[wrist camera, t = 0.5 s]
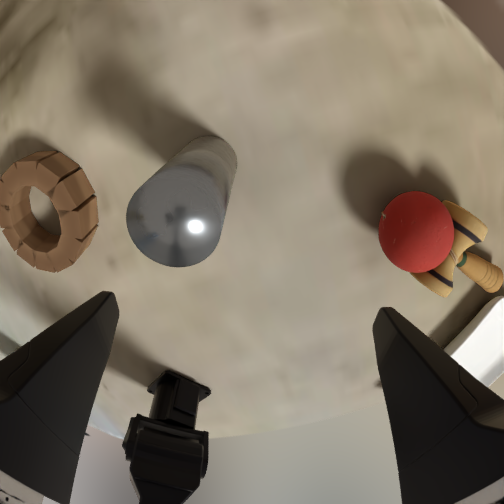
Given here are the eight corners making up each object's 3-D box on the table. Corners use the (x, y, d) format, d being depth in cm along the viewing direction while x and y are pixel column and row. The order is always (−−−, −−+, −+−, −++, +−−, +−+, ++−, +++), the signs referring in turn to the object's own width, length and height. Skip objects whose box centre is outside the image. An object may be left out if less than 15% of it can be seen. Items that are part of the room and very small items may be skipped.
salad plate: (533, 318, 30) (543, 331, 27) (452, 399, 40) (458, 413, 37) (489, 277, 26) (504, 295, 23) (380, 389, 36) (386, 408, 33)
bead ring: (78, 271, 25) (64, 290, 23) (9, 218, 22) (-9, 232, 20) (115, 190, 21) (97, 204, 18) (31, 131, 18) (9, 140, 15)
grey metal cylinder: (215, 199, 22) (187, 282, 13) (170, 169, 20) (112, 234, 12) (248, 157, 20) (241, 216, 11) (201, 124, 19) (155, 157, 10)
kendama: (500, 231, 24) (405, 152, 18) (529, 273, 19) (452, 204, 14) (458, 277, 28) (349, 229, 23) (480, 320, 24) (373, 290, 18)
